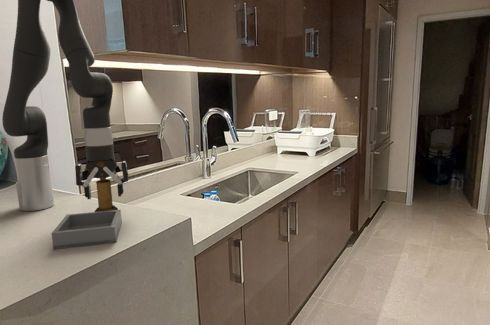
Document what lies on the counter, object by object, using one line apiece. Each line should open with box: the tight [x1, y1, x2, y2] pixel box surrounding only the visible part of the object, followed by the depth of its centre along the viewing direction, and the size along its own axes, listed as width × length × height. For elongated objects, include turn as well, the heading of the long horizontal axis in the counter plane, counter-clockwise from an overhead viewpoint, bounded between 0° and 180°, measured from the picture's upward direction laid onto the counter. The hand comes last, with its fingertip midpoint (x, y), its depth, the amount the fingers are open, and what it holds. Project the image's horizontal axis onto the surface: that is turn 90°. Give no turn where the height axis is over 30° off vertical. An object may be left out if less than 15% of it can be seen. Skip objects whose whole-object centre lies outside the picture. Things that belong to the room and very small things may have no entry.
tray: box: [51, 209, 123, 250], centre depth 89 cm, size 14×14×4 cm
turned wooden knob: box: [94, 161, 119, 212], centre depth 102 cm, size 7×6×18 cm
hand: (104, 197), depth 102 cm, fingers open, 8 cm apart
